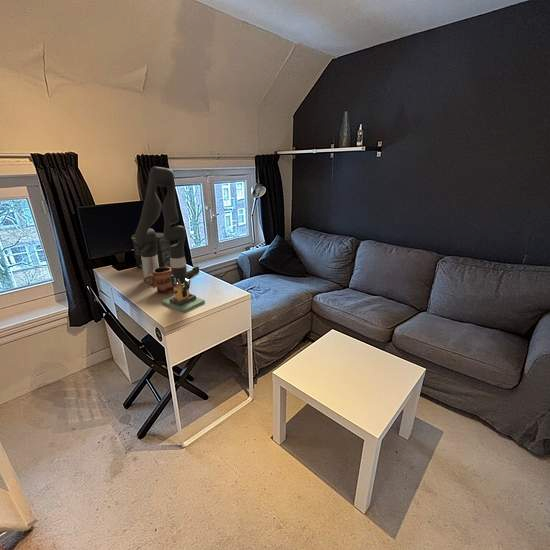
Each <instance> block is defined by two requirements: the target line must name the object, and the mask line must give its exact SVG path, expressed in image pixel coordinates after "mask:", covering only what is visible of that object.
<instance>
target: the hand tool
mask: <svg viewBox="0 0 550 550" xmlns="http://www.w3.org/2000/svg"><path fill="white" fill-rule="evenodd" d="M198 272H199V273H200V267H199V266H194V267H192V268H191V270H189V271H187V273H186V279H187V280H188V279H189V278H191V277H193V276H194V275H195V274H196V275H197V273H198ZM199 273H198V274H199Z"/></svg>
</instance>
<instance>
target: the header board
mask: <svg viewBox="0 0 550 550" xmlns="http://www.w3.org/2000/svg"><path fill="white" fill-rule="evenodd" d="M205 303H206V300H205V299H202V298H201V297H200V298H199V297H197V295H196V294H193V293H191V292H189V298H187V299H184V300H182V301H178V300H175V294H173V295H172V296H170V297H168V298H165V299H162V300H161V304H162V305H165V306H168V307H170V308H172V309H174V310H177V311H179V312H181V313H184V314H185V313H187V312H188V311H190V310H193V309H195V308H197V307H198V306H201V305H203V304H205Z"/></svg>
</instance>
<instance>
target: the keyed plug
mask: <svg viewBox="0 0 550 550" xmlns="http://www.w3.org/2000/svg"><path fill="white" fill-rule="evenodd" d="M182 285H183V284H182ZM183 288H184V286H183ZM189 289H190V288H189ZM189 289H188V290H187V296H186V297H183V295H182V288H181V287H180V285H178V286H176V287H174V291H173V292H171V293H172V295H175V300H178V301H182V300H184V299H187V298H189V293H190V291H189Z"/></svg>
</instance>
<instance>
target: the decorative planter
mask: <svg viewBox="0 0 550 550" xmlns="http://www.w3.org/2000/svg"><path fill="white" fill-rule="evenodd" d="M171 275H172V272H171V267H161V268H156V269H154V270H153V273H152V274H151V275H147V276H145V277H144V276H143V283H144V284H145V286H149V288H153V289H154V288H155V289H156V290H157V292H158V293H159V294H162V295H164V294H170V293H172V292H174V287H175V286H173V285H172V282H171V279H170V276H171ZM149 278H151V279H152V281H153V283H152V284H148V283H146V280H147V279H149ZM174 284H175V281H174Z"/></svg>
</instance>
